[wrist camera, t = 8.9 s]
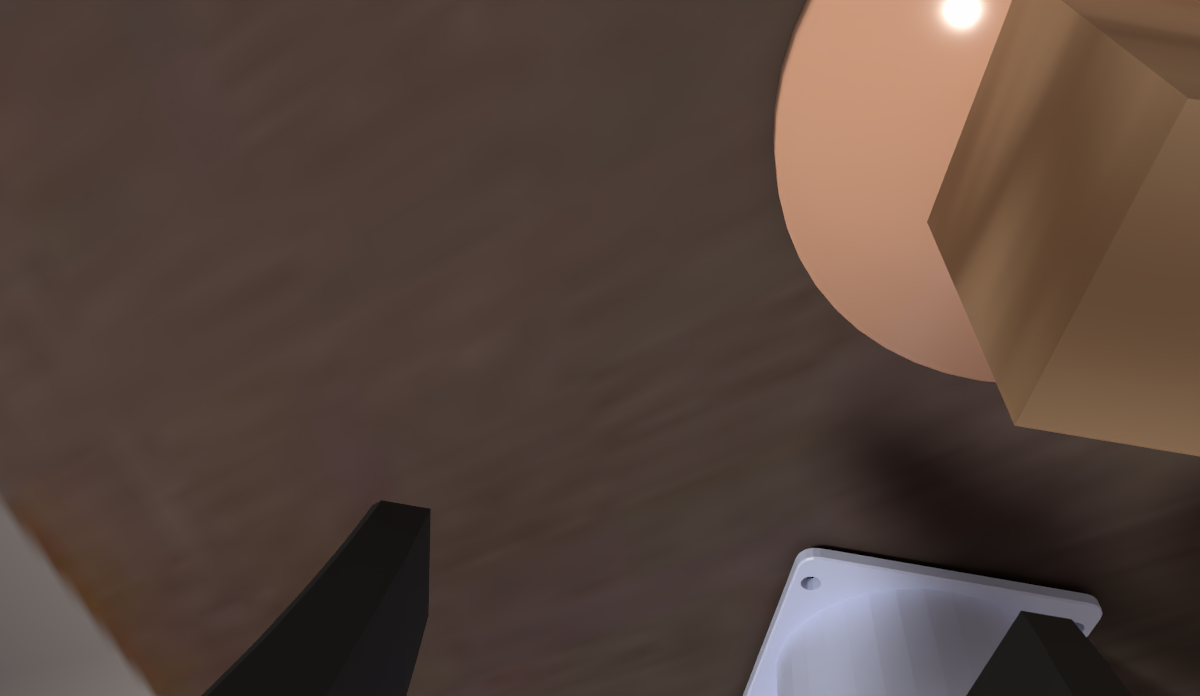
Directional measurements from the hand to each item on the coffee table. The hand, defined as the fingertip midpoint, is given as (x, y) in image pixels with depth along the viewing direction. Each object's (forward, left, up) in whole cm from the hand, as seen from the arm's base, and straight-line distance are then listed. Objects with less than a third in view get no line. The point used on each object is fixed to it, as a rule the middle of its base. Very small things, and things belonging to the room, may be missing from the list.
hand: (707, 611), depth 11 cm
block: (+4, -6, -8) cm, 11 cm away
